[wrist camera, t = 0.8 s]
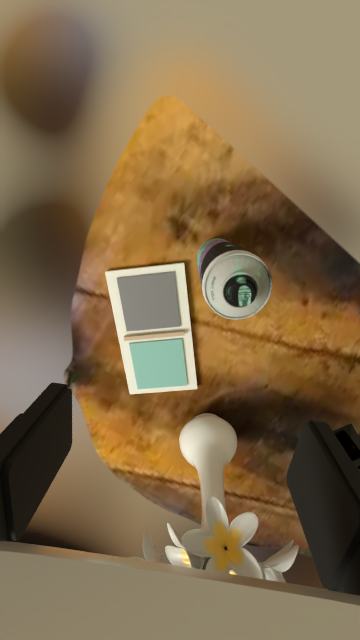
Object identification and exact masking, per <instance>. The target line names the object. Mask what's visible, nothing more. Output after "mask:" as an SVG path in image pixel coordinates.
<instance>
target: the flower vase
mask: <svg viewBox="0 0 360 640" xmlns="http://www.w3.org/2000/svg"><path fill="white" fill-rule="evenodd" d="M179 445H180V449H181V452H182V455H183V456H184V457H185V459H186V460H187V461H188V462H189V463H190V464H191V465H192V466H194V467H195V468H196V469H197V472H198V475H199V480H200V490H201V502H202V523H201V529H193V530H190V531H188V532H186V533H185V534H184V535H183V537H182V538H181V537H180V536H179V535H178V534H177V533H176V531H175V530H174V529H173V528H172V526H171V525H170V524H169V523H167V526H168V531H169V534H170V536H171V538H172V540H173V542H174V543H175V544H176V546H179V547H178V548H177V547H173V546H166V548H165V551H166V555H167V557H168V559H169V561H170V563H171V564H172V565H176V566H183V567H189V568H196V569H200V567H201V561H202V560H205V562H204V565H203V568H202V570H209V571H215V572H222V573H228V574H234V575H240V576H247V577H253V578H259V579H263V577H264V579H265V580H272V581H278V582H284V583H286V582H285V580H284V578H283V576H282V572H284V571H287V570H288V569H289V568H290V566H291V565H292V563H293V562H294V560H295V557H296V555H297V552H298V547H299V546H298V545H295V546H293V547H292V548H291V546H292V544H293V541H294V538H293V539H292V540H291V541H290V542H289V543H288V544H287V545H286V546H285V547H284V548H283V549H281V550H280V551H279V552H278V553H276V554H275V555H273V556H271V557H270V558H269V559H268V560H266V561H265V562H263V563H261V562H259V561H257V560H256V559H255V558H254V557H253V555H252V554H251V553H250V552H249V551H247V550H246V549H244V548H242V547H243V546H244V545H245V544H246V543H247V542H248V541H249V540H250V539H251V538H252V536H253V535H254V534H255V532H256V530H257V527H258V518H257V516H256V515H255V514H254V513H252V512H246V513H243V514H240V515H239V516H237V517H236V518H235V519H234V520H233V521H232V522H231V524H230V526H229V522H228V518H227V513H226V506H225V496H224V485H223V471H224V467H225V466H226V465H227V464H228V463H229V462H230V461H231V460H232V458H233V457H234V455H235V452H236V449H237V436H236V432H235V431H234V429H233V427H232V426H231V425H230V424H229V423H228V422H227V421H225V420H224V419H222V418H220V417H218V416H216V415H214V414H211V413H204V414H200V415H197V416H196V417H194V418H193V419H192V420H191V421H189V422H188V423H187V424H186V425H185V426H184V428H183V429H182V431H181V434H180V436H179ZM143 553H144V556H145V557H146V558H147V560H145V559H142V558H140V557H135V556H132V557H129V558H131V559H137V560H144V561H150V562H157V563H163V555H162V553H161V552H159V553H157V554H156V552H155V549H154V545H153V542H152V539H151V535H150V533H149V532H148V531H145V533H144V536H143Z"/></svg>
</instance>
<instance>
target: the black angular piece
mask: <svg viewBox="0 0 360 640" xmlns="http://www.w3.org/2000/svg"><path fill="white" fill-rule="evenodd" d="M333 433H334V434H335V436H336V437H337V439H338V440H339V442H340V443H341V445H342V447H343V448H344V450H345V451H346V453H347V454H348V456H349V457H350V459H351V461H352V462H353V464H354V465H355V467H356V468H357V470H358V471H359V473H360V438H359V437H358V435H357V433H356V431H355V429H354V427H353V426H352V424H349V425H346V426H344V427H342V428H340V429H337V430H335V431H333Z"/></svg>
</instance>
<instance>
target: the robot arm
mask: <svg viewBox="0 0 360 640" xmlns="http://www.w3.org/2000/svg"><path fill="white" fill-rule="evenodd" d="M71 444H72V390H71V389H68V386H67V385H66V384H59V383H51V384H50V385H49V386H48V387H47V388H46V389H45V390H44V391H43V392H42V393H41V395H40V396H39V397H38V398H37V399H36V400H35V401H34V402H33V403H32V404H31V406H30V407H29V408H28V409H27V410H26V411H25V412H24V413H22V414H19V415H18V416H17V417H16V418H15V419H14V420H13V421H12V422H11V423H10V424H9V425H8V426H7V427H6V429H5V430H4V431H3V432H2V433H1V434H0V640H360V473H359V471H358V470H357V468H356V467H355V465H354V464H353V462H352V461H351V459H350V457H349V456H348V454H347V453H346V451H345V450H344V448H343V447H342V445H341V443H340V442H339V440H338V439H337V437H336V436H335V434H334V433H333V431H332V430H331V428H330V426H329V425H328V424H327V423H326V422H320V421H313V420H310V421H309V422H308V423H305V424H304V426H303V429H302V432H301V434H300V437H299V440H298V443H297V446H296V449H295V452H294V455H293V458H292V461H291V463H290V466H289V469H288V472H287V484H288V487H289V490H290V493H291V496H292V499H293V502H294V505H295V507H296V510H297V513H298V516H299V519H300V522H301V525H302V528H303V531H304V534H305V537H306V540H307V543H308V545H309V548H310V551H311V554H312V557H313V560H314V563H315V566H316V569H317V572H318V575H319V577H320V580H321V583H322V585H323V586H324V588H327V589H328V590H325V589H320V588H314V587H309V586H303V585H296V584H290V583H284V582H278V581H272V580H265V579H259V578H253V577H247V576H240V575H234V574H228V573H222V572H215V571H209V570H202V569H196V568H189V567H183V566H176V565H169V564H163V563H157V562H150V561H144V560H137V559H131V558H123V557H117V556H110V555H103V554H97V553H90V552H83V551H76V550H69V549H63V548H55V547H47V546H40V545H32V544H24V543H16V542H13V541H14V540H15V541H18V540H19V539H20V538H21V536H22V535H23V533H24V531H25V530H26V528H27V526H28V524H29V522H30V521H31V519H32V517H33V515H34V513H35V512H36V510H37V508H38V506H39V504H40V503H41V501H42V499H43V497H44V496H45V494H46V492H47V490H48V489H49V487H50V485H51V483H52V481H53V479H54V478H55V476H56V474H57V472H58V471H59V469H60V467H61V465H62V464H63V462H64V460H65V458H66V456H67V455H68V453H69V451H70V448H71Z"/></svg>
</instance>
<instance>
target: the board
mask: <svg viewBox="0 0 360 640" xmlns="http://www.w3.org/2000/svg"><path fill="white" fill-rule="evenodd" d="M105 274H106V279H107V284H108V289H109V294H110V299H111V304H112V308H113V313H114V318H115V323H116V328H117V333H118V338H119V343H120V348H121V353H122V358H123V363H124V368H125V373H126V378H127V383H128V388H129V392H130V394H140V393H153V392H166V391H178V390H191V389H197V379H196V370H195V360H194V351H193V341H192V332H191V322H190V313H189V304H188V294H187V285H186V275H185V266H184V262H183V263H174V264H165V265H156V266H147V267H137V268H128V269H119V270H110V271H106V272H105Z"/></svg>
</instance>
